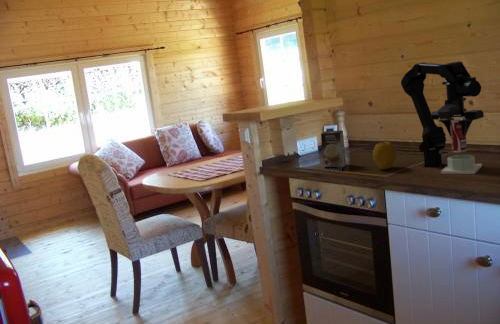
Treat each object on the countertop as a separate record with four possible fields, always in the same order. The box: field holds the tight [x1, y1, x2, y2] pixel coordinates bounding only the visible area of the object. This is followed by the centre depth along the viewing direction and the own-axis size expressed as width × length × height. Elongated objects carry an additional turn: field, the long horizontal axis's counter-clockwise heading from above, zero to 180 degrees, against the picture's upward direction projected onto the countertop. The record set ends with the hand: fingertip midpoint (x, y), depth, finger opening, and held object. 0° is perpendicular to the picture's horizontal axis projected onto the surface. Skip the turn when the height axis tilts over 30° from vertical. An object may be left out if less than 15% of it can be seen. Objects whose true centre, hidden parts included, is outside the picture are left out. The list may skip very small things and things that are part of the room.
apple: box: [372, 141, 397, 170], centre depth 218 cm, size 10×10×12 cm
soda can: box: [450, 118, 468, 153], centre depth 196 cm, size 5×5×12 cm
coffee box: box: [320, 130, 347, 168], centre depth 237 cm, size 9×6×16 cm
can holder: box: [440, 154, 483, 175], centre depth 199 cm, size 12×12×5 cm
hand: (457, 137), depth 196 cm, fingers closed on soda can, 5 cm apart
